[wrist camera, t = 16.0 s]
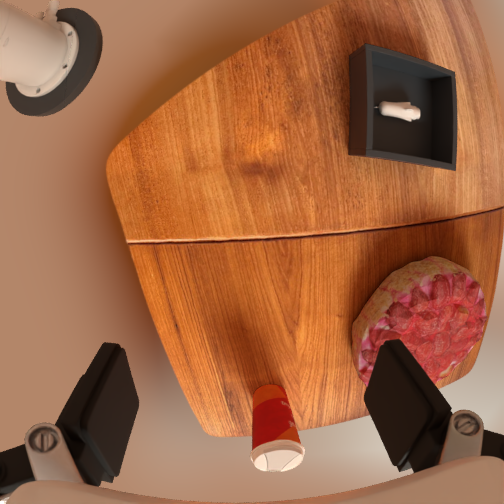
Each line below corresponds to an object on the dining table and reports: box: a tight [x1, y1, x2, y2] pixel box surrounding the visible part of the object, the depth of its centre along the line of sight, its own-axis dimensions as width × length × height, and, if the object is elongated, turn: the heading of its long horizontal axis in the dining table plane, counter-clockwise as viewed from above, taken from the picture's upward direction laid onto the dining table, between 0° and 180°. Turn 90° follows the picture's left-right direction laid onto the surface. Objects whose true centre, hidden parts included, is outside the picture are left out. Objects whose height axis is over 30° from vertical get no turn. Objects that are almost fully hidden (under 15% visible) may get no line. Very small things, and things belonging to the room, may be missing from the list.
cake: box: [351, 256, 487, 388], centre depth 40 cm, size 25×25×8 cm
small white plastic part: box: [376, 101, 420, 121], centre depth 31 cm, size 4×6×3 cm, turn 65°
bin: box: [348, 43, 457, 171], centre depth 30 cm, size 14×14×6 cm
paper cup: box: [250, 384, 305, 472], centre depth 40 cm, size 8×8×14 cm
